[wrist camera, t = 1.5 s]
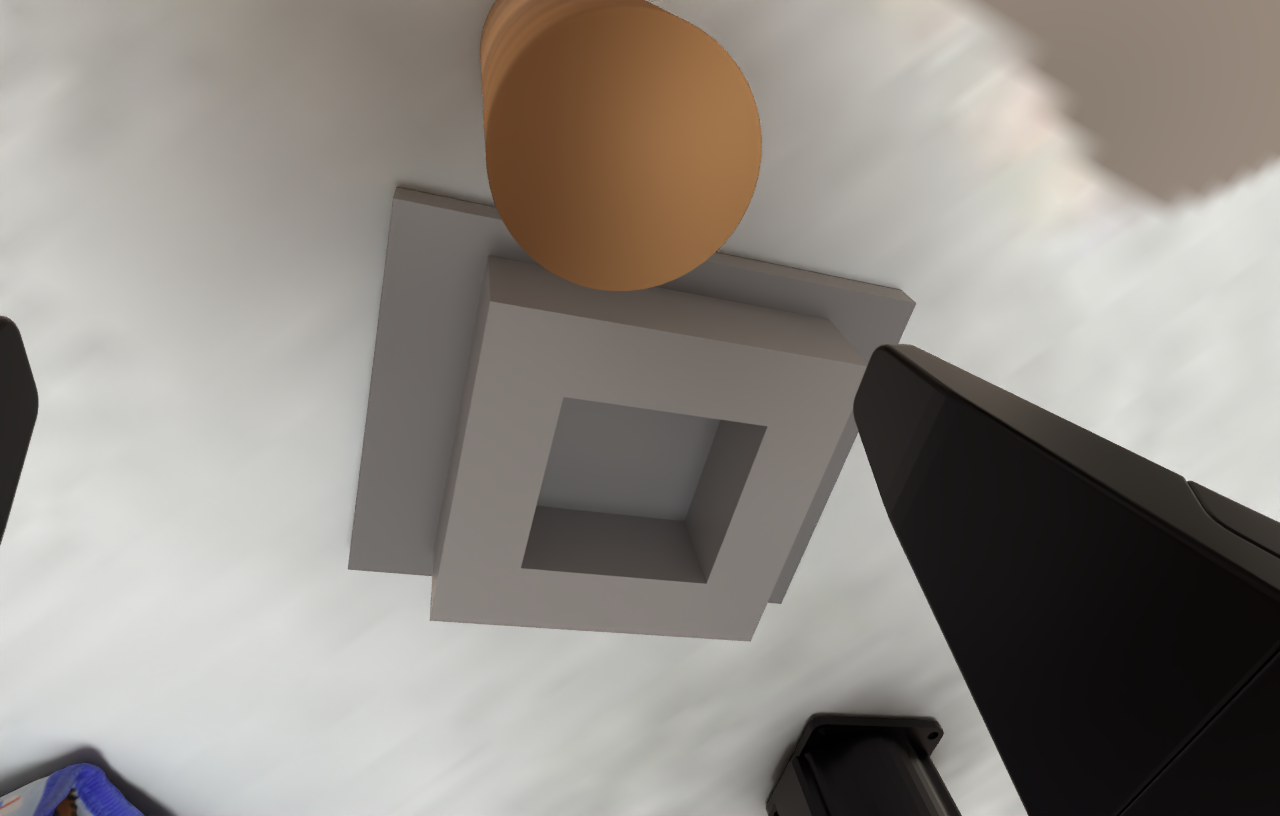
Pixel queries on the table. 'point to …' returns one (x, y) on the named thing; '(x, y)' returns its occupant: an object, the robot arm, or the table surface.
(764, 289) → the socket block
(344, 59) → the table surface
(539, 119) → the peg
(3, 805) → the lunch bag
